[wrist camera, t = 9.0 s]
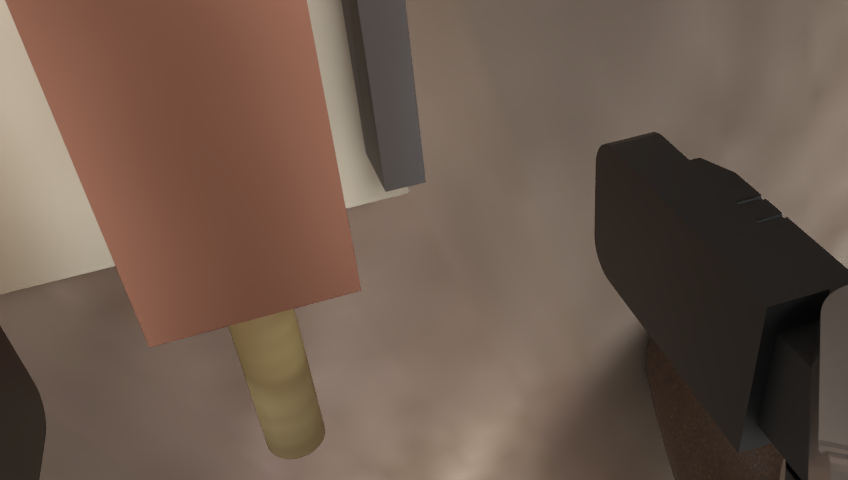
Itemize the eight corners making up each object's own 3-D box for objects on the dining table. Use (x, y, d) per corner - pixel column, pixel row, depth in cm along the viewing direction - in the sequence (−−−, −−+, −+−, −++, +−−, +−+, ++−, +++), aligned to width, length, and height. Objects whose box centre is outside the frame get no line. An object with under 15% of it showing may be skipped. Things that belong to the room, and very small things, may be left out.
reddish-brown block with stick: (241, -157, 16) (289, -93, 11) (338, 299, 23) (392, 457, 18) (32, -124, 15) (-12, -40, 10) (199, 337, 22) (217, 512, 17)
